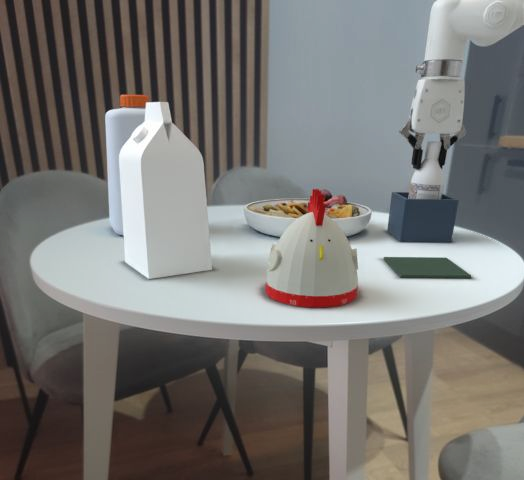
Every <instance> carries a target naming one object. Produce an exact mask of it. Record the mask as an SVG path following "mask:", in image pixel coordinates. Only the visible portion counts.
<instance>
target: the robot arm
mask: <svg viewBox="0 0 524 480" xmlns="http://www.w3.org/2000/svg"><path fill="white" fill-rule="evenodd" d="M523 26H524V0H435V1H434V2H433V4H432V5H431V9H430V14H429V21H428V27H427V28H428V29H427V36H426V43H425V50H424V51H425V52H424V58H423V62H422V64H419V65H418V64H417V65H416V67H415V73H416V74H419V75H420V78H421V79H418V80H417V82H416V83H417V84H416V85H415V88H414V89H415V90H414V93H413V97H412V101H411V106H410V110H409V116H408V119H407V120H406V121H405V122H404V124H403V125H402V126H401V128H400V129H399V130H398V133H399V135H400V136H401V137H403V138H404V139H405V140H406V141H407V142H408V144H409V145H410V146H411V148H412V156H411V165H412V169H414V170H416V169H420V167H421V163H422V161H423V153H424V150H423V149H422V145H423V142H424V138H425V136H426V134H427V135H429V134H434V135H439V142H441V149H440V154H439V159H438V161H439V165H440V168H441V169H442V170H443V166H445V164H446V160H447V153H448V150H450V148H451V147H452V146H453V145H454V144H455V143H457V141H458V140H460V139H462V138H464V137H465V136H466V135H467V130H466V127H465V125H464V123H463V118H464V110H465V97H466V96H465V94H466V93H465V91H466V88H465V87H466V86H465V85H466V83H465V82H466V81H465V79H461V77H462V73H463V72H462V71H463V65H464V59H465V52H466V47H467V41H468V40H470V41H471V43H472V44H473V45H476V46H478V47H489V46H492V45H494V44H496V43H497V42H499V41H500V40H502V39H504V38H505V37H508V36H509V35H510V34H511V33H513V32H515V31H516V30H517V29H520V28H521V27H523ZM412 133H415V134H414V135H413V134H412Z"/></svg>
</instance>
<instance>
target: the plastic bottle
mask: <svg viewBox="0 0 524 480" xmlns="http://www.w3.org/2000/svg"><path fill="white" fill-rule="evenodd" d="M146 102H150V97H149V96H148V95H145V94H120V96H119V104H120V105H119V106H120V108H113V109H109V110H108V111H107V112H106V113H105V114H104V115H105V116H104V121H105V123H104V124H105V125H104V126H105V145H106V169H107V171H106V173H107V194H108V215H109V216H108V219H109V225H110V227H111V228H112V231H114V232H115V234H117V235H119V236H123V237H124V234H123V218H122V202H121V185H120V169H119V154H120V151H121V149H122V147H123V146H124V144H125V143H126V142H127V141H128V140H129V138H130V137H131V135H132V133H133V132H134V130H135V129H136V128H137V127H138V126H140V125H142V124H143V123H144V122H145V110H146Z"/></svg>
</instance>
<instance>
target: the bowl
mask: <svg viewBox="0 0 524 480" xmlns="http://www.w3.org/2000/svg"><path fill="white" fill-rule="evenodd" d="M319 191H321V194H324V204H323V205H326V207H325V215H327V216H328V217H330V218H331V219H332V220H334V221H335V222H336V223H337V224H338V226H339V227H340V228H341V229H342V231H343V232H344V234H345V236H346V238H347V237H351V236H354V235H357V234H359V233H360V232H363V230H365V229H366V228H367V227H368V225H369V223H370V221H371V219H372V209H371V208H370V207H368V206H366V205H363V204H359V203H355V202H349V201H348V200H347V198H346V196H345V195H343V194H338V195H334V196H333V195H332V193H331V191H330V190H328V189H325V188H323V189H319ZM308 202H310V198H276V199H275V198H272V199H264V200H257V201H253V202H249V203H246V204H245V205H244V206H243V215H244V219H245V221H246V223H248V225H249V226H250V227H251V228H252V229H254V230H256V231H257V232H259V233H262V234H265V235H269V236H273V237H279V238H280V237H281V236H282V234H283V233H284V232H285V230H286V229H287V228H288V227H289V226H290V225H291V224H292V223H293V222H294V221H295V220H297V219H298V218H299V217H301V216H303V215H305V214H307V213H308Z"/></svg>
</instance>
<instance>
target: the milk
mask: <svg viewBox="0 0 524 480" xmlns="http://www.w3.org/2000/svg"><path fill="white" fill-rule="evenodd" d="M204 163H205V162H204V157H203V155H202V153H201V151H200V150H199V148H198V147H197V146H196V145H195V144H194V143H193V142H192V141H191V140H190V139H189V138H188V137H187V136H186V135H185V134H184V133H183V132H182V130H181V129H179V127H177V126H176V124H175V123H173V121H172V114H171V110H170V104H169V102H168V101H149V102H146V110H145V122H144V123H143V124H142V125H140V126H138V127H137V128H136V129H135V130H134V132H133V133H132V135H131V137H130V138H129V140H128V141H127V142H126V143H125V144H124V146H123V147H122V149H121V151H120V154H119V169H120V185H121V202H122V218H123V234H124V236H123V246H124V247H123V248H124V263H126V264H127V265H128V266H130V267H131V268H133V269H134V270H135V271H136V272H138V273H139V274H141V275H142V276H144V277H145V278H146V279H148V280H151V279H152V280H153V279H159V278H165V277H173V276H180V275H185V274H192V273H198V272H205V271H206V272H207V271H212V270H213V261H212V252H211V238H210V225H209V212H208V211H209V210H208V200H207V188H206V175H205V164H204Z"/></svg>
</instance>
